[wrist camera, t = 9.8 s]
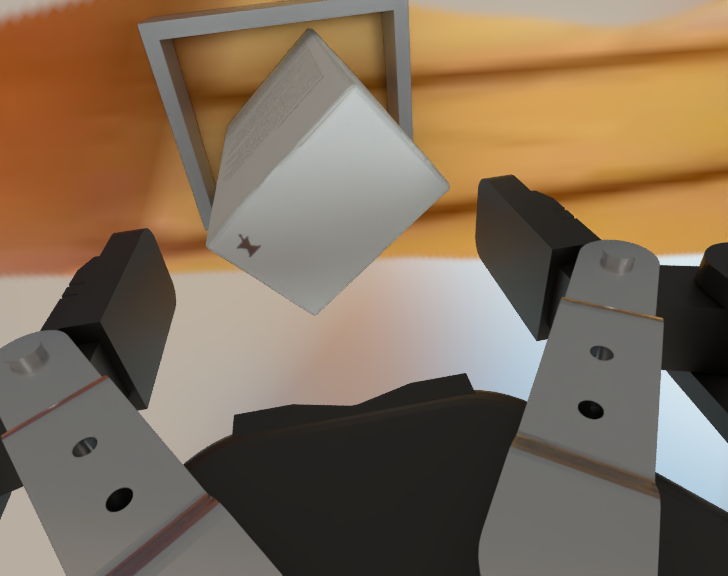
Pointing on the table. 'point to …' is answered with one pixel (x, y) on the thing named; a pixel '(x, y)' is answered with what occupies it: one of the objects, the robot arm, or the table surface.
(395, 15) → the frame
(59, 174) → the table surface
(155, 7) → the table surface
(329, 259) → the skincare box
